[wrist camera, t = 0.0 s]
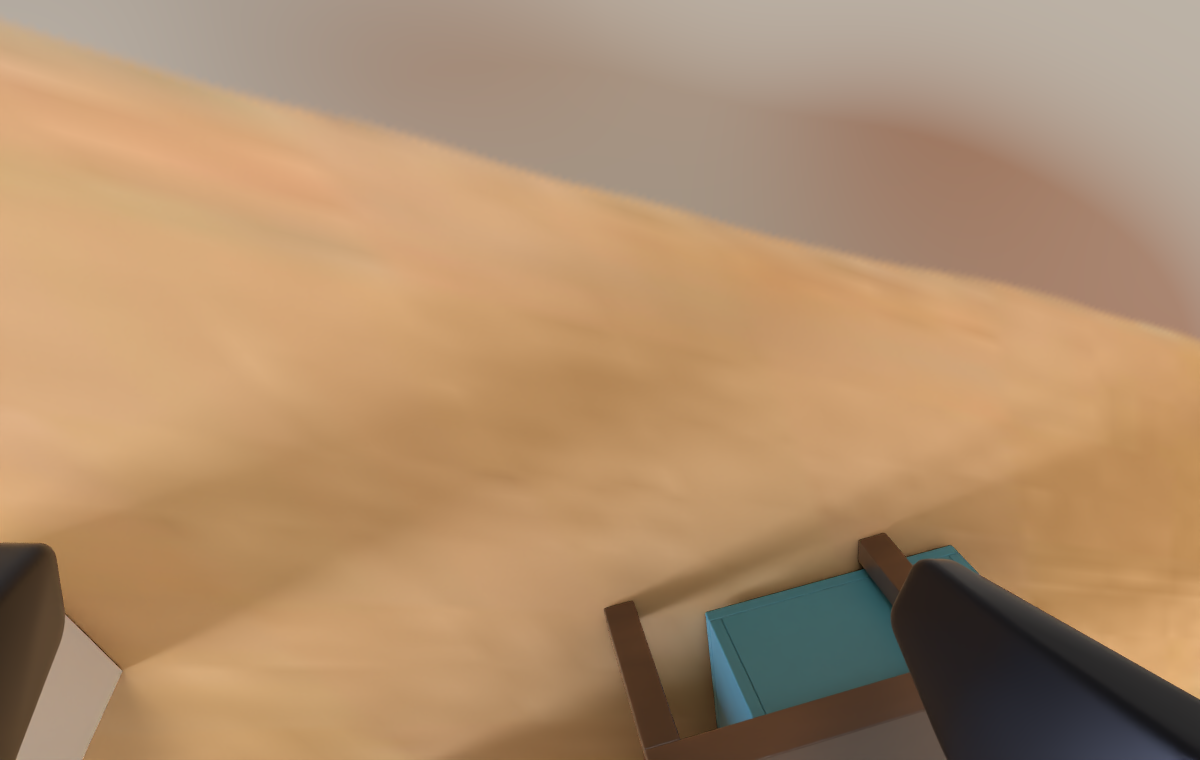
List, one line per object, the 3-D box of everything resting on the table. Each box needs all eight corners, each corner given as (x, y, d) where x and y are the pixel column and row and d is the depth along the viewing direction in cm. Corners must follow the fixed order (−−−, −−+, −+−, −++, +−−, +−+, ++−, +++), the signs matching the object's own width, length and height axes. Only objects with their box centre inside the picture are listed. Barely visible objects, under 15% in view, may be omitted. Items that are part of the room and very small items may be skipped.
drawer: (718, 747, 34) (840, 1063, 24) (704, 611, 29) (847, 930, 19) (998, 664, 36) (1223, 927, 25) (1025, 523, 31) (1311, 776, 21)
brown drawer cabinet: (639, 787, 34) (689, 974, 28) (603, 607, 28) (656, 790, 22) (872, 717, 36) (973, 880, 29) (885, 531, 30) (1015, 682, 23)
